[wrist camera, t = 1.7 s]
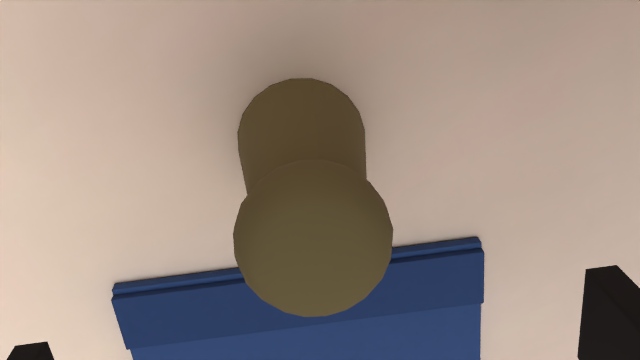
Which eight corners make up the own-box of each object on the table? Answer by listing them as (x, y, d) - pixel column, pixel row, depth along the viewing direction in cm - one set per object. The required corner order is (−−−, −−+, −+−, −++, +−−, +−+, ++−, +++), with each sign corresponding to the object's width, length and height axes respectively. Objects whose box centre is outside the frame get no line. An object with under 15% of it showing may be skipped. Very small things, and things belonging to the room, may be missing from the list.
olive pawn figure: (328, 216, 29) (356, 370, 19) (216, 168, 28) (184, 309, 18) (388, 112, 27) (454, 224, 17) (270, 55, 26) (268, 141, 16)
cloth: (478, 236, 30) (484, 246, 29) (476, 395, 35) (482, 408, 34) (114, 283, 30) (109, 295, 29) (161, 437, 35) (157, 451, 34)
